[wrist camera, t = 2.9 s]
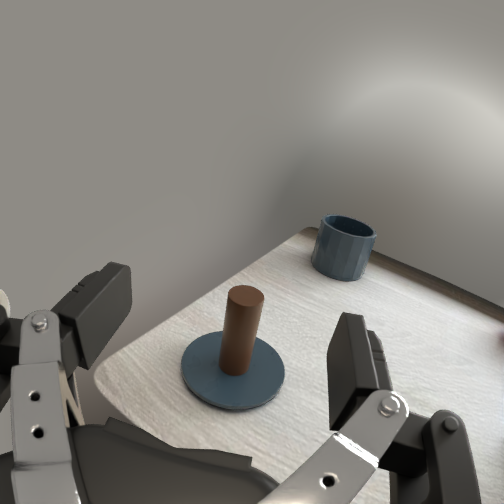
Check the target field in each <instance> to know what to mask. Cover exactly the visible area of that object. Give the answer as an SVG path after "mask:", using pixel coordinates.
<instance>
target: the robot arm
mask: <svg viewBox="0 0 504 504" xmlns="http://www.w3.org/2000/svg"><path fill="white" fill-rule="evenodd" d="M131 305H132V289H131V271H130V267H129V266H127V265H123V264H119V263H115V262H109V263H108V264H107V265H106V266H105V267H104V268H103V269H102V270H101V271H100V272H99V271H96V272H93V273H91V274H89V275H87V276H85V277H84V278H83V279H82V280H81V281H80V282H79V283H78V285H76V286H75V287H74V288H73V289H72V291H70V292H69V293H67V294H66V295H65V296H64V297H63V298H62V299H61V300H60V301H59V302H58V303H57V304H56V305H55V306H54V307H53V308H52V309H51V310H50V311H49V310H37V311H34V312H32V313H30V314H28V315H27V316H26V317H25V318H24V320H23V319H15V318H8V315H7V312H6V309H5V308H4V306H2V305H0V412H1V410H2V409H3V407H4V406H5V404H6V403H7V401H8V400H9V398H10V397H11V428H12V443H13V451H10V452H7V453H4V454H1V455H0V504H349V503H350V502H351V501H352V500H353V498H354V497H355V496H356V495H357V494H358V492H359V491H360V490H361V489H362V487H363V486H364V485H365V483H366V482H367V481H368V479H369V478H370V477H371V476H372V474H373V473H374V471H375V470H376V469H377V467H378V468H381V469H384V470H388V471H389V477H390V504H481V498H480V491H479V486H478V480H477V475H476V470H475V465H474V461H473V456H472V452H471V448H470V443H469V439H468V435H467V432H466V428H465V425H464V422H463V421H462V419H461V418H460V417H459V416H458V415H457V414H455V413H454V412H452V411H449V410H439V411H437V412H435V413H434V415H433V416H432V417H431V418H428V417H425V416H422V415H419V414H416V413H413V412H411V411H409V410H408V406H407V403H406V402H405V400H404V399H403V398H402V397H401V396H400V395H398V394H397V393H395V392H394V391H393V387H392V382H391V378H390V374H389V370H388V366H387V362H386V358H385V354H384V353H383V352H384V351H383V347H382V343H381V340H380V339H379V338H378V336H377V335H376V334H375V333H374V331H370V330H367V329H366V325H365V321H364V317H363V316H362V315H357V314H351V313H345V312H343V313H342V314H341V316H340V318H339V321H338V324H337V326H336V329H335V331H334V334H333V336H332V339H331V341H330V344H329V347H328V351H327V375H328V396H329V427H330V430H332V431H338V432H337V433H334V434H333V435H332V436H331V437H330V438H329V439H328V440H327V441H326V442H325V443H324V444H323V445H322V446H321V447H320V448H319V449H318V450H317V451H316V452H315V453H314V454H313V455H312V456H311V457H310V458H309V459H308V460H307V461H306V462H305V463H304V464H303V465H301V466H300V467H299V468H298V469H297V470H296V471H295V472H294V473H293V474H292V475H291V476H289V477H288V478H287V479H286V480H285V481H284V482H283V483H282V484H279V483H278V482H277V481H275V480H274V479H273V478H272V477H270V476H269V475H267V474H266V473H264V472H262V471H260V470H259V469H256V468H254V467H252V466H251V462H252V457H249V456H244V455H239V454H233V453H229V452H224V451H219V450H212V449H185V448H175V447H172V446H170V445H168V444H167V443H165V442H163V441H161V440H160V439H158V438H156V437H155V436H153V435H151V434H150V433H148V432H146V431H145V430H143V429H141V428H138V427H136V426H133V425H130V424H127V423H125V422H122V421H119V420H117V419H114V418H112V417H109V418H108V420H107V422H106V424H105V425H99V424H88V425H85V423H84V420H83V416H82V412H81V407H80V401H79V396H78V390H77V384H76V377H75V373H74V370H75V369H76V367H77V366H79V367H82V368H84V369H87V370H89V369H90V367H91V366H92V364H93V363H94V361H95V360H96V358H97V357H98V356H99V354H100V353H101V351H102V350H103V349H104V347H105V346H106V344H107V343H108V341H109V340H110V339H111V337H112V336H113V334H114V333H115V332H116V330H117V329H118V328H119V326H120V325H121V323H122V322H123V321H124V319H125V318H126V317H127V315H128V314H129V312H130V309H131Z"/></svg>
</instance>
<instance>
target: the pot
mask: <svg viewBox="0 0 504 504" xmlns="http://www.w3.org/2000/svg"><path fill="white" fill-rule="evenodd" d="M375 238H376V231H375V230H374V229H373V228H372V227H371V226H369V225H367V224H366V223H364V222H362V221H360V220H357V219H354V218H351V217H348V216H343V215H336V214H327V215H325V216H323V217H322V220H321V224H320V228H319V232H318V236H317V239H316V243H315V247H314V251H313V255H312V259H311V263H312V265H313V266H314V268H315V269H316V270H318V271H319V272H321V273H322V274H324V275H326V276H328V277H331V278H333V279H337V280H342V281H355V280H358V279H360V278H361V277H362V275H363V273H364V271H365V268H366V265H367V262H368V259H369V256H370V253H371V250H372V247H373V244H374V241H375Z"/></svg>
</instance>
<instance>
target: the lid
mask: <svg viewBox="0 0 504 504" xmlns="http://www.w3.org/2000/svg"><path fill="white" fill-rule="evenodd" d="M263 303H264V295H263V293H262V292H261V291H260V290H258V289H256V288H254V287H251V286H246V285H239V286H235V287H233V288H231V289H230V290H229V292H228V299H227V306H226V313H225V320H224V327H223V331H219V332H213V333H209V334H206V335H203V336H201V337H199V338H197V339H196V340H194V341H193V342H192V343H191V344H190V345H189V346H188V347H187V348H186V350H185V352H184V354H183V356H182V363H181V369H182V375H183V378H184V380H185V382H186V384H187V385H188V387H189V388H190V389H191V390H192V391H193V392H194V393H195V394H196V395H197V396H198V397H200V398H201V399H203V400H204V401H206V402H208V403H210V404H213V405H215V406H218V407H222V408H227V409H249V408H254V407H257V406H260V405H262V404H264V403H266V402H268V401H269V400H271V399H272V398H273V397H274V396H275V395H276V394H277V393H278V392H279V390H280V389H281V387H282V384H283V381H284V377H285V369H284V365H283V362H282V360H281V358H280V356H279V355H278V353H277V352H276V351H275V350H274V349H273V348H272V347H271V346H270V345H269V344H267V343H266V342H264V341H263V340H261V339H259V338H257V337H256V334H257V330H258V325H259V321H260V316H261V312H262V307H263Z"/></svg>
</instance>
